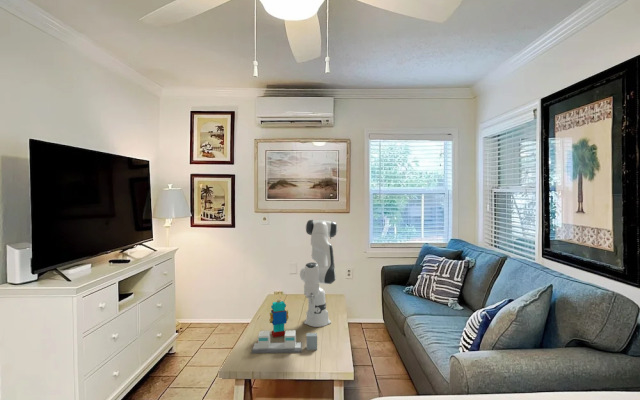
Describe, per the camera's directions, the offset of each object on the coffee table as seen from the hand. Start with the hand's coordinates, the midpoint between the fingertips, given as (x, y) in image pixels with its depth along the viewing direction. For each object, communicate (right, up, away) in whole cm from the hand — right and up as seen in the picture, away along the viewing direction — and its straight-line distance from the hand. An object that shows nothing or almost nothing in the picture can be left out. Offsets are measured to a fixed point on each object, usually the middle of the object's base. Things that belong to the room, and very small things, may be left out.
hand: (311, 315), depth 208 cm
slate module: (0, -19, 0) cm, 19 cm away
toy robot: (-21, -19, +20) cm, 35 cm away
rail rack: (-20, -19, 0) cm, 28 cm away
